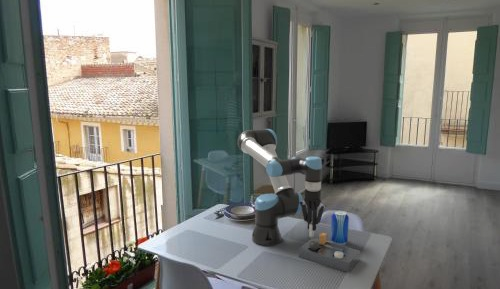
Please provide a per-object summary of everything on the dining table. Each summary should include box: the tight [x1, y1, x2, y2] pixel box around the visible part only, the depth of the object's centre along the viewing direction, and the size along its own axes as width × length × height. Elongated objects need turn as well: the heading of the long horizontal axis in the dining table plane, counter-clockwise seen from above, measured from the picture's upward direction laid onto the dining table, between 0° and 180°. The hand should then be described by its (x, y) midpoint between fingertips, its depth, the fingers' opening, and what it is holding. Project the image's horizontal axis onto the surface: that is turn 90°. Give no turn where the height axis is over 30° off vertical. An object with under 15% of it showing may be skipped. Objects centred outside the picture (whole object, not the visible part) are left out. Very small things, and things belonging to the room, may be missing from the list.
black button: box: [310, 241, 319, 252], centre depth 164 cm, size 4×4×4 cm
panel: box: [298, 237, 361, 274], centre depth 164 cm, size 24×14×5 cm, turn 54°
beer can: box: [330, 210, 350, 246], centre depth 180 cm, size 8×8×16 cm
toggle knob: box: [318, 232, 328, 244], centre depth 169 cm, size 2×3×5 cm
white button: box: [334, 251, 344, 259], centre depth 157 cm, size 4×4×4 cm
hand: (311, 236), depth 172 cm, fingers closed
